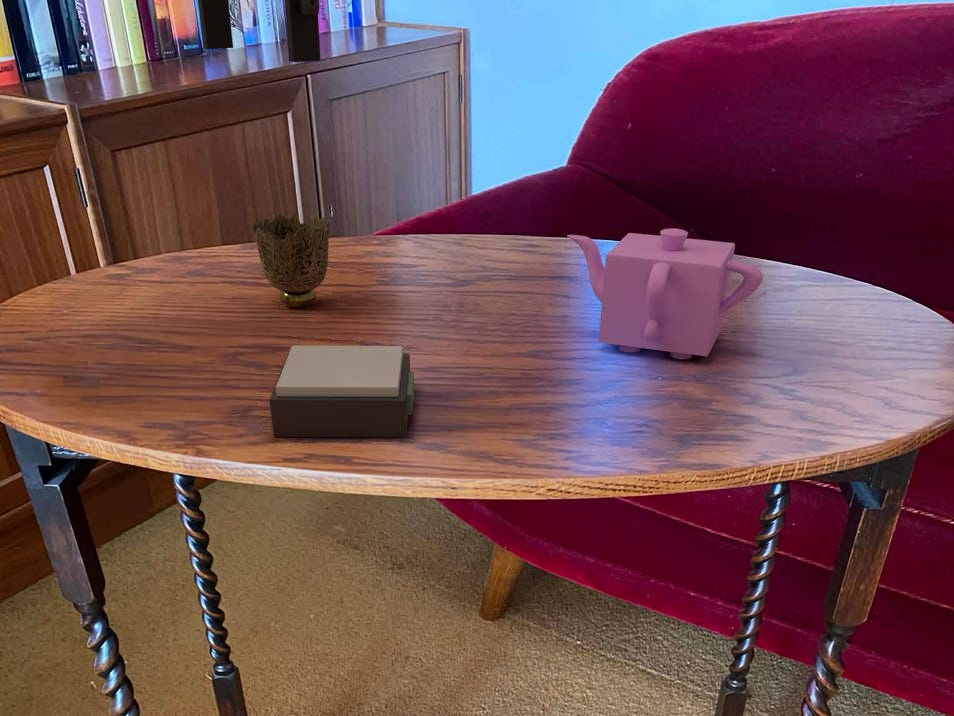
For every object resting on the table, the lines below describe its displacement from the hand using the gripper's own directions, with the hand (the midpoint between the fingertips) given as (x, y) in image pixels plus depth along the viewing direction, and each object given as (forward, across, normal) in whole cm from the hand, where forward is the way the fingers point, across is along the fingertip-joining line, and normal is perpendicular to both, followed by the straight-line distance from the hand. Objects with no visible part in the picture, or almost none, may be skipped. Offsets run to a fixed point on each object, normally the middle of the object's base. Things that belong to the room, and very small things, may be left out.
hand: (259, 55), depth 85 cm
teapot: (+22, -31, -21) cm, 43 cm away
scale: (+22, -25, +11) cm, 35 cm away
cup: (+22, 0, -2) cm, 23 cm away
